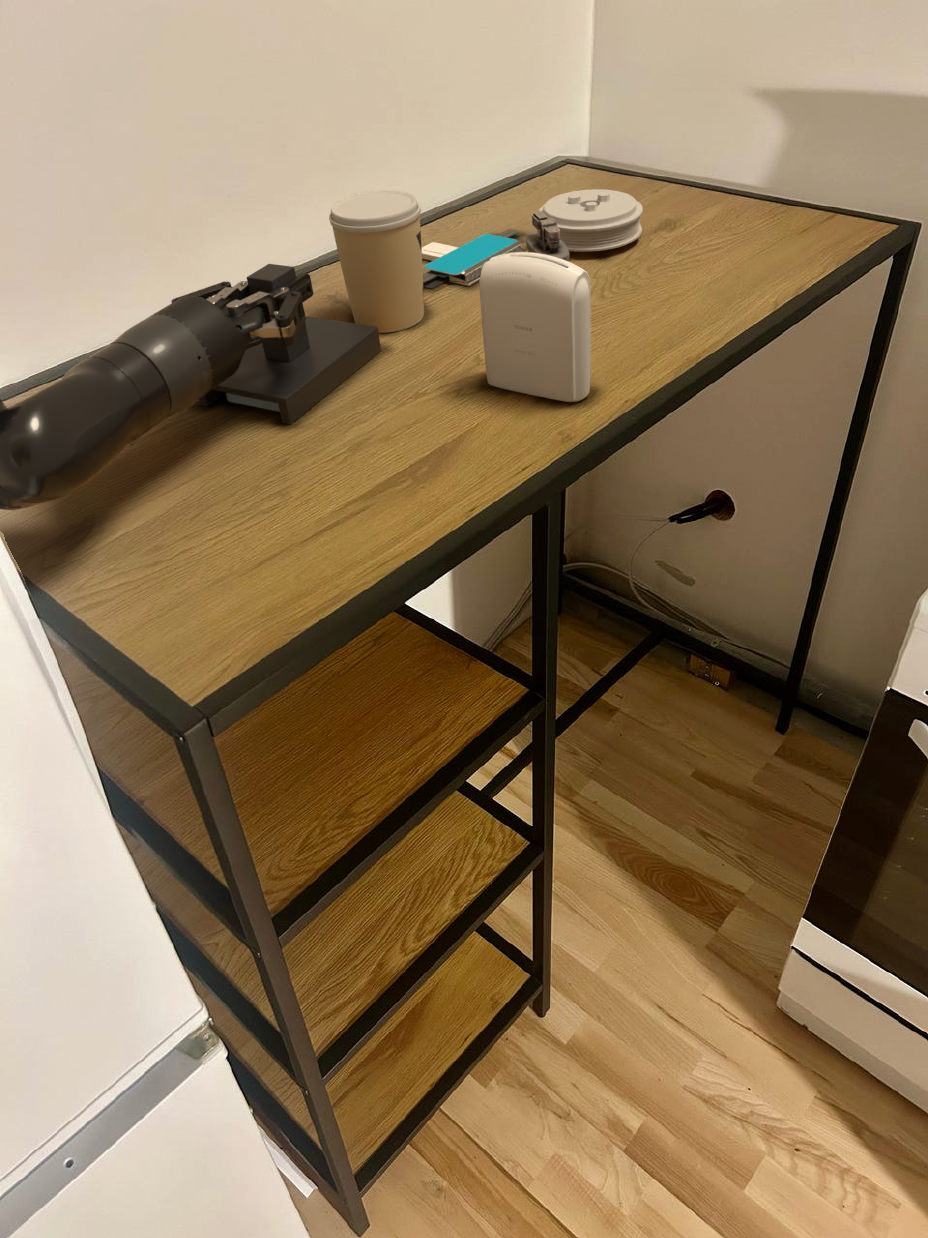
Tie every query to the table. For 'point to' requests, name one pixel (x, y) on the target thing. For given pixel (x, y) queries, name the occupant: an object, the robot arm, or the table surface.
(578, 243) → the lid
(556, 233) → the lighter
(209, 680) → the table surface
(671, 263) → the table surface
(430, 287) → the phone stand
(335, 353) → the cover
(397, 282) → the coffee cup
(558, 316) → the photo printer
